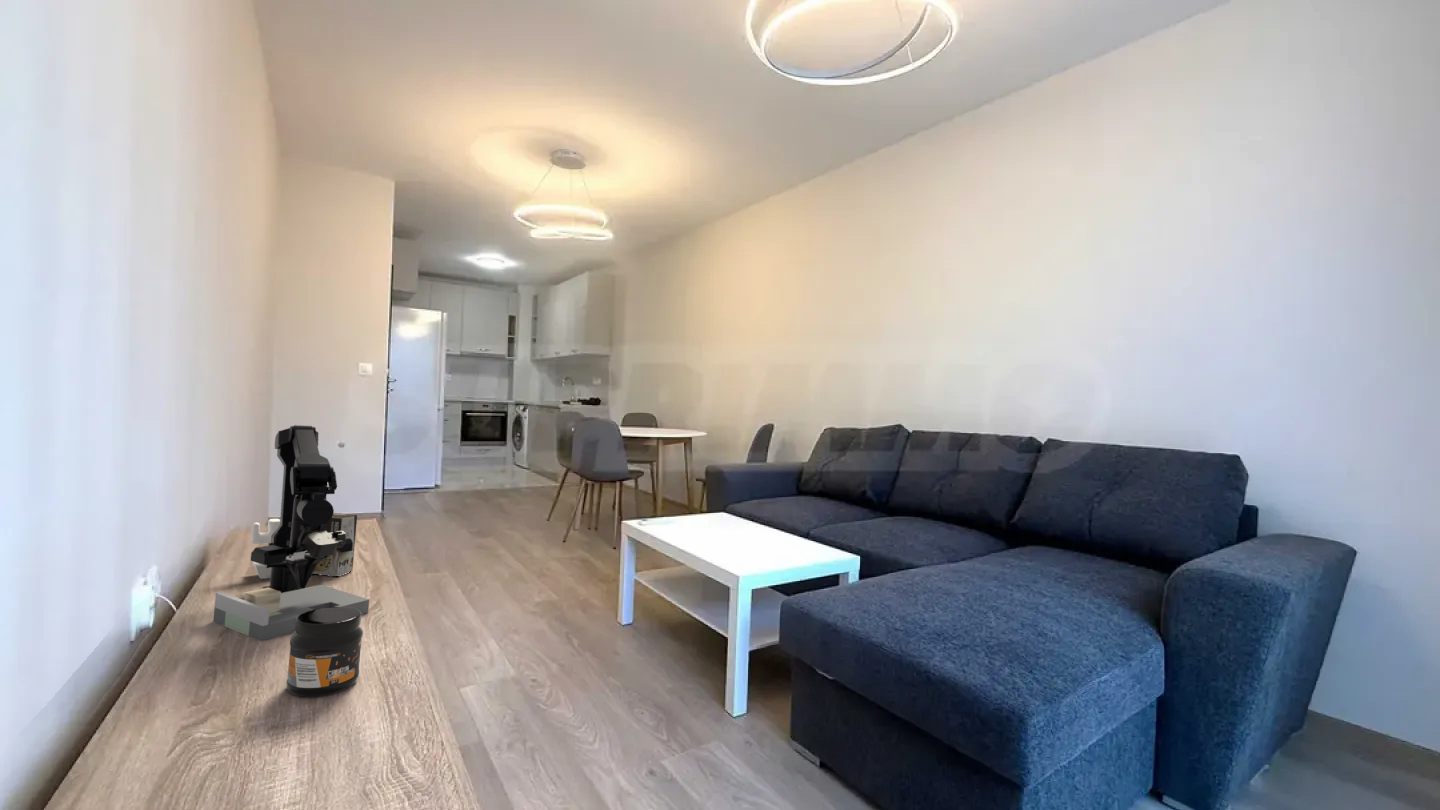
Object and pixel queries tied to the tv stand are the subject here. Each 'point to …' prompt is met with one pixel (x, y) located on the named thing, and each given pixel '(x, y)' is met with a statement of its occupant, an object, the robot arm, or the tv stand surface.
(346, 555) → the coffee box
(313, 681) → the supplement container
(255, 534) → the figurine
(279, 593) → the maple block
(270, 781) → the tv stand surface
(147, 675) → the tv stand surface
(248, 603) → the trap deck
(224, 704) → the tv stand surface
